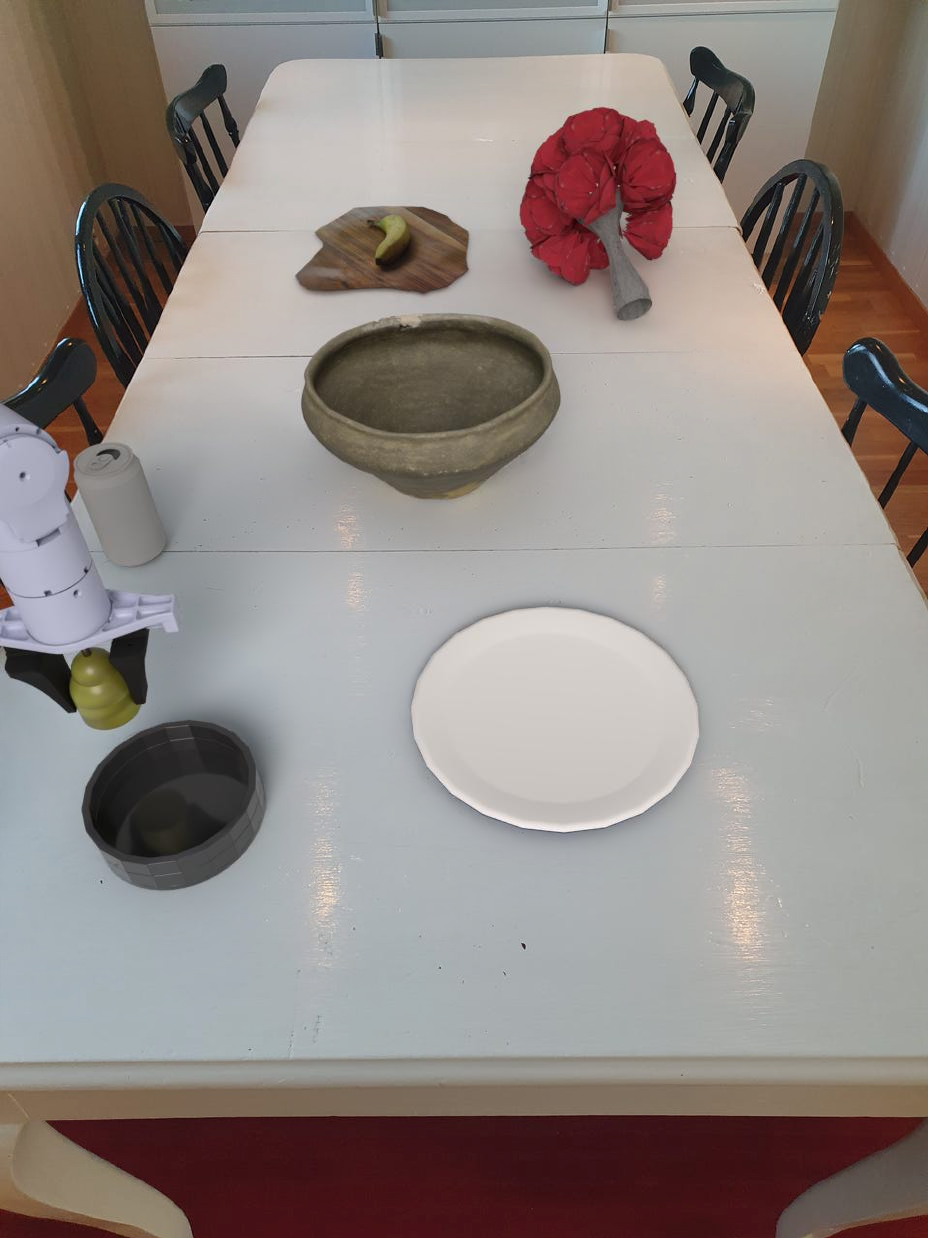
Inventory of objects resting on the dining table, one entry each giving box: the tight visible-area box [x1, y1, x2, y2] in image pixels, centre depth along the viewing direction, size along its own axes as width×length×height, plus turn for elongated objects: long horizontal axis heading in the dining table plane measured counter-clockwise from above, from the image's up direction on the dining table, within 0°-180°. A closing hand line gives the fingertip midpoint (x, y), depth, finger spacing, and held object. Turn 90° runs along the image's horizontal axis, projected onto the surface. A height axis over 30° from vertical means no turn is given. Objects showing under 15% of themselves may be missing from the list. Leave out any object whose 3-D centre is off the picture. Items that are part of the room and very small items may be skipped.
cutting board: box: [294, 205, 469, 294], centre depth 148 cm, size 35×27×4 cm
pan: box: [80, 719, 266, 891], centre depth 72 cm, size 13×13×4 cm
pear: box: [69, 646, 143, 731], centre depth 68 cm, size 5×5×7 cm
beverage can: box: [72, 441, 167, 568], centre depth 92 cm, size 6×6×12 cm
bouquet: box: [519, 106, 677, 321], centre depth 131 cm, size 22×24×30 cm
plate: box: [410, 606, 700, 834], centre depth 79 cm, size 25×25×1 cm
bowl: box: [300, 312, 562, 500], centre depth 100 cm, size 28×28×14 cm
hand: (108, 698), depth 70 cm, fingers closed on pear, 4 cm apart
